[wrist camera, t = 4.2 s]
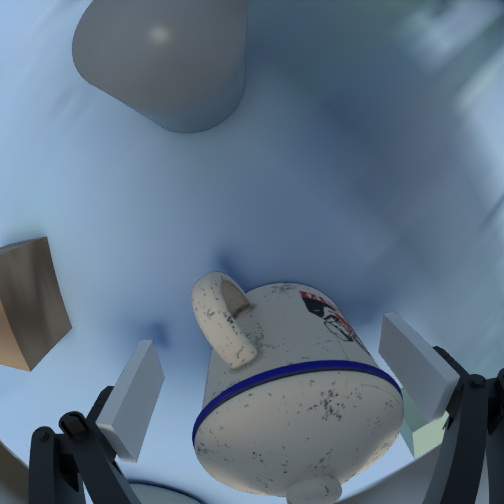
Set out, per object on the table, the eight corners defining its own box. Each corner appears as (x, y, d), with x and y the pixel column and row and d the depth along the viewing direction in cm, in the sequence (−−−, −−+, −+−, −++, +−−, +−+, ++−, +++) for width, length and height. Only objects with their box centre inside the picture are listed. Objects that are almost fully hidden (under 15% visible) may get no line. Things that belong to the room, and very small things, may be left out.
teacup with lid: (364, 350, 18) (441, 474, 7) (257, 407, 19) (268, 542, 8) (281, 204, 15) (379, 269, 4) (153, 287, 16) (55, 429, 5)
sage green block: (389, 394, 20) (412, 432, 15) (443, 360, 19) (472, 391, 14) (396, 425, 21) (414, 459, 16) (443, 395, 21) (466, 424, 16)
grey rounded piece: (142, 54, 13) (83, -12, 5) (239, 37, 13) (239, -51, 5) (145, 141, 14) (66, 115, 6) (249, 126, 14) (257, 73, 7)
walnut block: (8, 244, 15) (-44, 266, 10) (47, 236, 15) (-11, 259, 10) (31, 325, 17) (-9, 361, 11) (72, 327, 17) (30, 371, 11)
